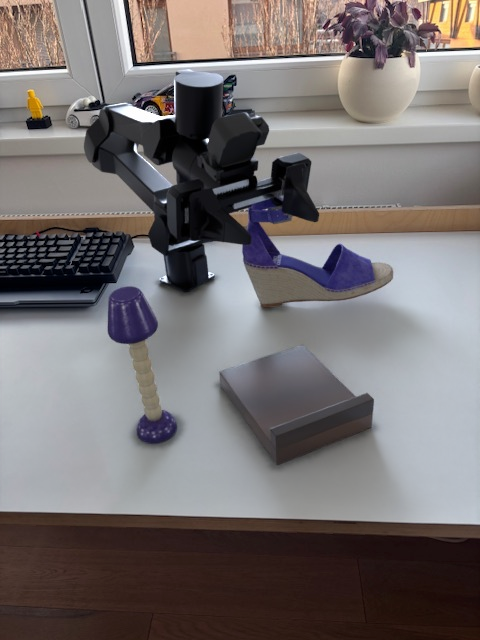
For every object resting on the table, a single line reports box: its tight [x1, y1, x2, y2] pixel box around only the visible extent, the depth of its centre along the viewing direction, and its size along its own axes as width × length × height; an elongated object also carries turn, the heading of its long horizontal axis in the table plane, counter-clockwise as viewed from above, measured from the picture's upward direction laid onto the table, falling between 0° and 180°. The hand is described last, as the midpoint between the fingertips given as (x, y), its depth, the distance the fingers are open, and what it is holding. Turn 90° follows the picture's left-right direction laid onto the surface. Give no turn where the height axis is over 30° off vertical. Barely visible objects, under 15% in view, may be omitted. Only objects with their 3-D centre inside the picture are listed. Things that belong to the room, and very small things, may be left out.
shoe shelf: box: [218, 344, 375, 466], centre depth 58 cm, size 14×11×4 cm
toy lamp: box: [107, 285, 178, 445], centre depth 53 cm, size 5×5×17 cm
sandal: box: [241, 199, 394, 308], centre depth 74 cm, size 8×20×15 cm, turn 84°
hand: (285, 229), depth 59 cm, fingers open, 9 cm apart
